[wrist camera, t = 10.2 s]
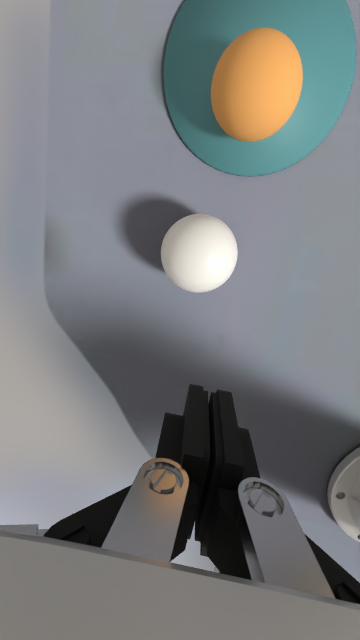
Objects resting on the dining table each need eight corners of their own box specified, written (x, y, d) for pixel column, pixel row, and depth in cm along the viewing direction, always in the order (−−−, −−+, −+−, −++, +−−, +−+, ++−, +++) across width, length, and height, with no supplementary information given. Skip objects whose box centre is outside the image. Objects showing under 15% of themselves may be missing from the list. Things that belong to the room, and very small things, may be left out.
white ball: (248, 259, 17) (258, 243, 22) (178, 198, 17) (203, 194, 22) (193, 318, 20) (213, 293, 25) (133, 266, 20) (164, 250, 25)
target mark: (383, 110, 20) (385, 108, 20) (216, 209, 23) (217, 209, 22) (307, -101, 18) (308, -105, 17) (129, 37, 20) (128, 35, 20)
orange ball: (312, 138, 17) (326, 54, 18) (257, 72, 14) (276, -30, 14) (240, 169, 22) (253, 101, 22) (185, 125, 18) (201, 45, 19)
